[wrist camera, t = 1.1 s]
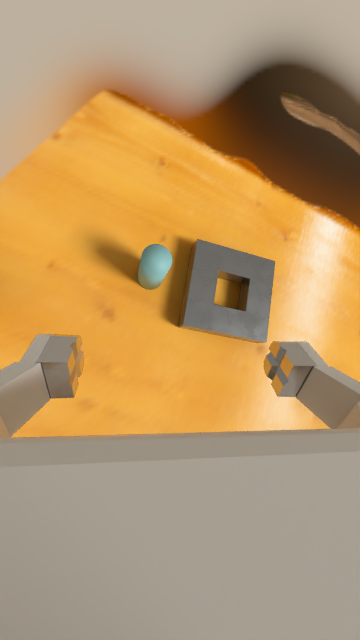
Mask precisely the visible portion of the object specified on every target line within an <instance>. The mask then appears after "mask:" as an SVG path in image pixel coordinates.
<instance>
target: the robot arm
mask: <svg viewBox="0 0 360 640" xmlns="http://www.w3.org/2000/svg"><path fill="white" fill-rule="evenodd" d="M81 346H82V340H81V337H80V336H79V335H59V334H38V335H37V336H36V337H35V339H34V340H33V342H32V343H31V345H30V346H29V348H28V349H27V351H26V353H25V354H24V356H23V357H22V359H21V360H20V362H15V363H13V364H11V365H9V366H8V367H6V368H4V369H2V370H0V640H360V382H358V381H356V380H354V379H353V378H351V377H349V376H347V375H346V374H344V373H342V372H340V371H339V370H337V369H335V368H333V367H328V365H327V364H326V363H325V362H324V361H323V359H322V358H321V357H320V356H319V355H318V354H317V352H316V351H315V350H314V349H313V348H312V346H311V345H310V344H309V343H307V342H280V341H273V342H272V343H271V345H270V347H269V349H270V353H269V354H268V355H267V356H266V357H265V360H264V370H265V373H266V375H267V377H269V378H270V379H271V380H272V384H271V385H272V387H273V388H274V390H275V392H276V394H277V396H280V397H296V398H297V399H298V400H299V401H300V402H301V403H303V404H304V405H305V406H306V407H307V408H308V409H309V410H310V411H312V412H313V413H314V414H315V415H316V416H317V417H318V418H320V419H321V420H322V421H323V422H324V423H325V424H326V425H328V426H329V427H330V428H331V429H305V430H270V431H234V432H197V433H161V434H125V435H89V436H53V437H17V438H11V436H12V435H13V434H14V433H15V432H16V431H17V430H18V429H20V428H21V427H22V426H23V425H24V424H25V423H26V422H27V421H28V420H29V419H30V418H31V417H32V416H33V415H34V414H36V413H37V412H38V411H39V410H40V409H41V408H42V407H43V406H44V405H45V404H46V403H47V402H48V401H49V400H50V398H74V396H75V393H76V390H77V387H78V377H80V376H81V375H82V371H83V366H84V354H83V352H82V351H81V350H80V348H81Z"/></svg>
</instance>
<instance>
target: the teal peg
mask: <svg viewBox="0 0 360 640" xmlns="http://www.w3.org/2000/svg"><path fill="white" fill-rule="evenodd" d="M171 265H172V255H171V253H170V251H169V250H168V249H167V248H166V247H164V246H162V245H159V244H152V245H149V246H148V247H146V248H145V249H144V251H143V253H142V256H141V261H140V266H139V270H138V275H137V279H138V282H139V284H140V285H141V286H142V287H143V288H145V289H149V290H152V289H156V288H157V287H159V286H160V284H161V283H162V281H163V279H164V277H165V276H166V274H167V272H168V271H169V269H170V267H171Z"/></svg>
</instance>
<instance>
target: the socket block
mask: <svg viewBox="0 0 360 640" xmlns="http://www.w3.org/2000/svg"><path fill="white" fill-rule="evenodd" d="M274 267H275V261H273V260H269V259H266V258H262V257H259V256H255V255H252V254H248V253H245V252H241V251H238V250H234V249H231V248H227V247H224V246H220V245H217V244H213V243H210V242H206V241H203V240H199V239H197V241H196V242H195V244H194V245H193V247H192V252H191V258H190V263H189V269H188V275H187V281H186V287H185V293H184V298H183V304H182V310H181V316H180V322H179V327H180V328H185V329H189V330H194V331H199V332H204V333H209V334H214V335H219V336H224V337H229V338H234V339H239V340H244V341H249V342H254V343H264V342H266V341H267V332H268V323H269V314H270V304H271V295H272V286H273V277H274ZM217 278H221V279H225V280H229V281H233V282H237V283H241V290H240V298H239V305H238V310H236V309H232V308H228V307H223V306H219V305H215V304H214V297H215V291H216V284H217Z"/></svg>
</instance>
